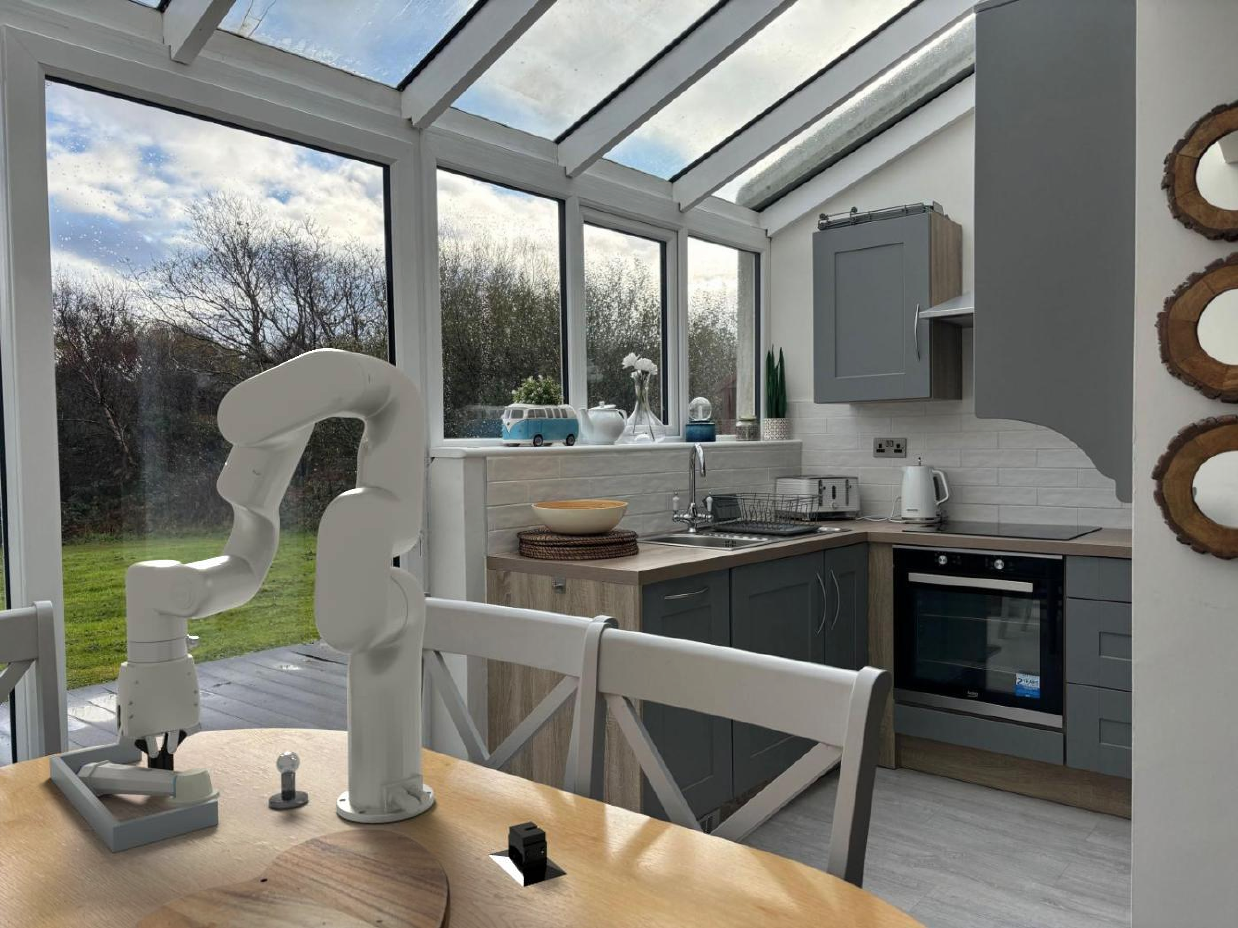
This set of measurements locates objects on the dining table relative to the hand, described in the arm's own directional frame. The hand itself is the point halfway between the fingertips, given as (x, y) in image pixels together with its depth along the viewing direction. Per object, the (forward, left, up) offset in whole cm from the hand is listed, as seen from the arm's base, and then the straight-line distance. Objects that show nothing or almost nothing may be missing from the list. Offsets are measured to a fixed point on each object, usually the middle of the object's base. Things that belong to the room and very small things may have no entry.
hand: (161, 781), depth 128 cm
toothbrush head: (-4, +3, -2) cm, 5 cm away
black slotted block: (-53, -24, -2) cm, 58 cm away
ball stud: (-16, -11, -1) cm, 20 cm away
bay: (0, +4, -1) cm, 4 cm away
